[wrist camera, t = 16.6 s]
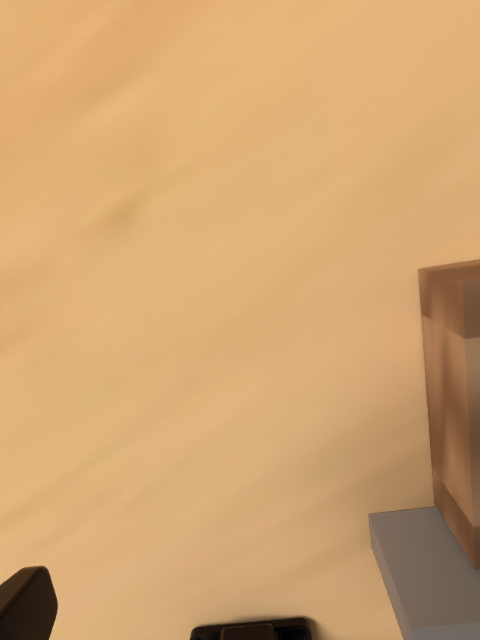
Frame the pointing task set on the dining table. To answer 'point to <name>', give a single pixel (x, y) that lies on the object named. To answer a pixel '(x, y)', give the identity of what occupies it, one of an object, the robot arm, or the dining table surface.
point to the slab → (426, 575)
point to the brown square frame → (454, 394)
